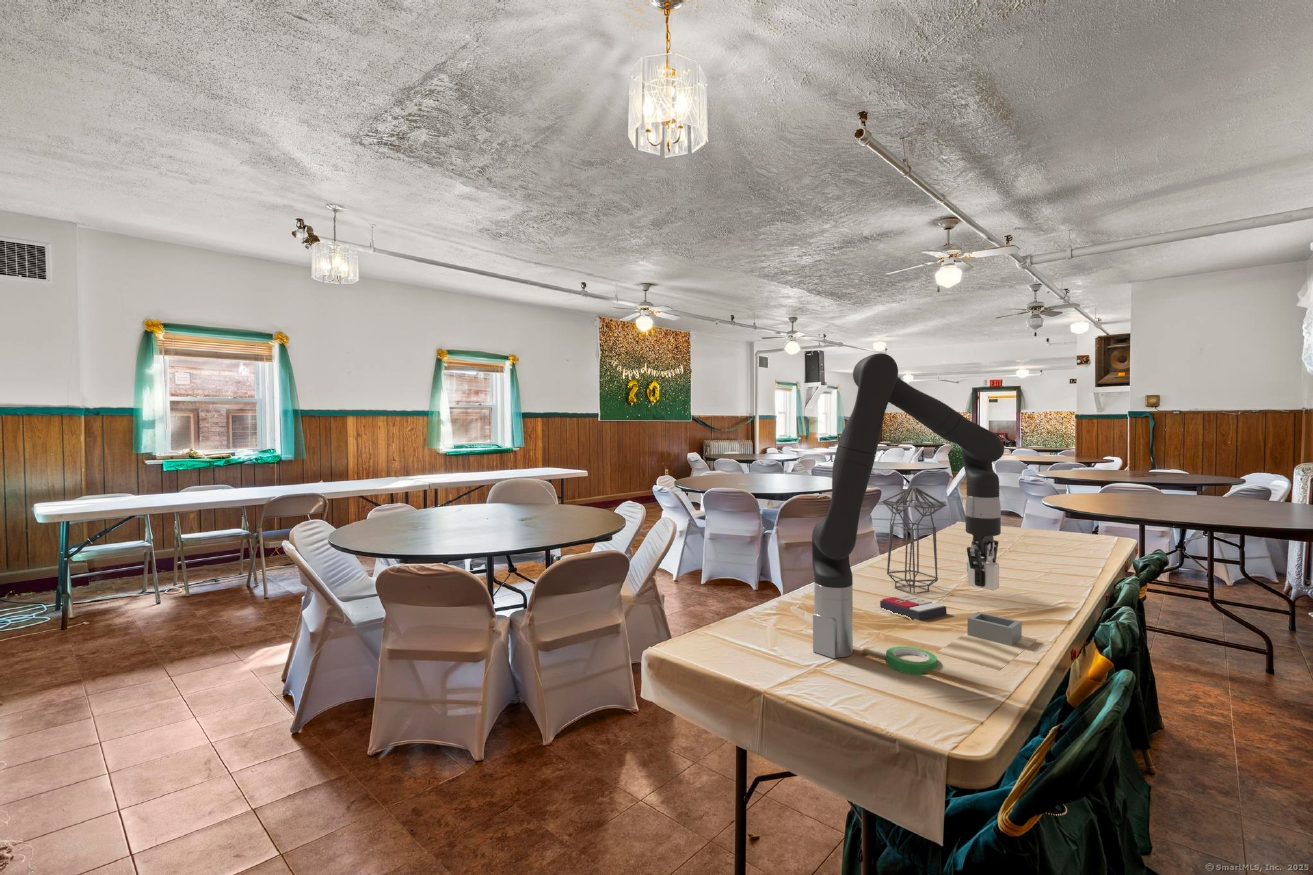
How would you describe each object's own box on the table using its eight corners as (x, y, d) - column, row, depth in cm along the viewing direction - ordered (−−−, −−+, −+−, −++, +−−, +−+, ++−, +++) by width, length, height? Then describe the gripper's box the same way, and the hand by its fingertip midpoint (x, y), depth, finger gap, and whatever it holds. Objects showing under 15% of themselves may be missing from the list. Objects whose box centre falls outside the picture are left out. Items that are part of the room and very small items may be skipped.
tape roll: (894, 652, 145) (894, 642, 145) (942, 664, 138) (942, 653, 138) (879, 667, 137) (879, 656, 136) (929, 680, 130) (929, 668, 129)
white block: (994, 590, 139) (994, 565, 139) (966, 585, 144) (966, 561, 143) (999, 587, 141) (999, 563, 141) (971, 582, 146) (971, 559, 145)
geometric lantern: (877, 585, 202) (878, 485, 201) (914, 582, 206) (915, 484, 206) (910, 598, 187) (911, 490, 186) (949, 594, 191) (950, 488, 191)
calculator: (905, 593, 182) (946, 604, 168) (905, 606, 182) (947, 619, 168) (879, 598, 177) (919, 610, 164) (879, 612, 177) (920, 625, 164)
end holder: (1011, 646, 145) (1011, 628, 145) (967, 635, 153) (967, 618, 152) (1021, 638, 150) (1021, 621, 150) (978, 628, 157) (978, 611, 157)
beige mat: (999, 674, 131) (999, 670, 131) (936, 656, 142) (936, 652, 142) (1036, 643, 149) (1036, 639, 149) (978, 628, 160) (978, 625, 160)
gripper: (988, 520, 134) (988, 593, 135) (1010, 512, 143) (1010, 581, 144) (954, 516, 140) (955, 587, 140) (977, 509, 149) (978, 576, 150)
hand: (983, 584), depth 142 cm, fingers closed on white block, 3 cm apart
